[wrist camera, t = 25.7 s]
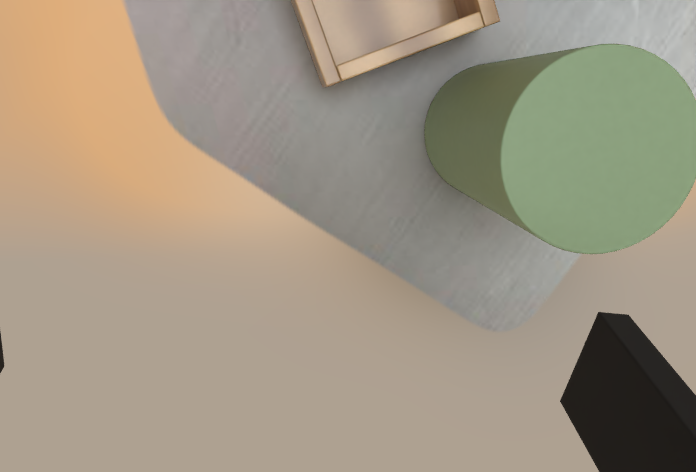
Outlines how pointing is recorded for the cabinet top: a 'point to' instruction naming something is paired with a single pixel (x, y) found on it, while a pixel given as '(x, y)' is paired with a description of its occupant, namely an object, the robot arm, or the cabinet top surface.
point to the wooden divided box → (382, 30)
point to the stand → (570, 143)
